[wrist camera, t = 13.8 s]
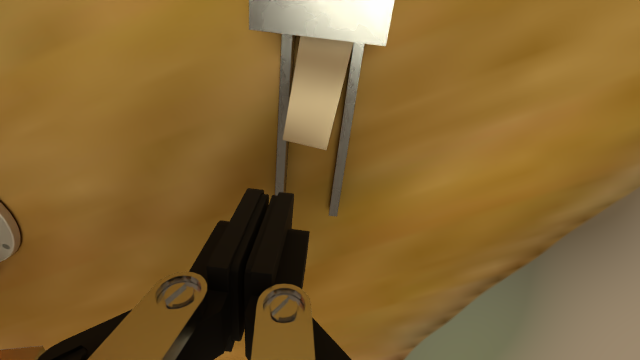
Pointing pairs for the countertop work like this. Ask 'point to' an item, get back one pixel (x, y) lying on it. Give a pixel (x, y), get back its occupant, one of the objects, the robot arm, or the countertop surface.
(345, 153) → the guide channel
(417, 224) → the countertop surface
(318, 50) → the beige rectangular block
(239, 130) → the countertop surface
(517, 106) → the countertop surface
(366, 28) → the end cap
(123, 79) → the countertop surface
